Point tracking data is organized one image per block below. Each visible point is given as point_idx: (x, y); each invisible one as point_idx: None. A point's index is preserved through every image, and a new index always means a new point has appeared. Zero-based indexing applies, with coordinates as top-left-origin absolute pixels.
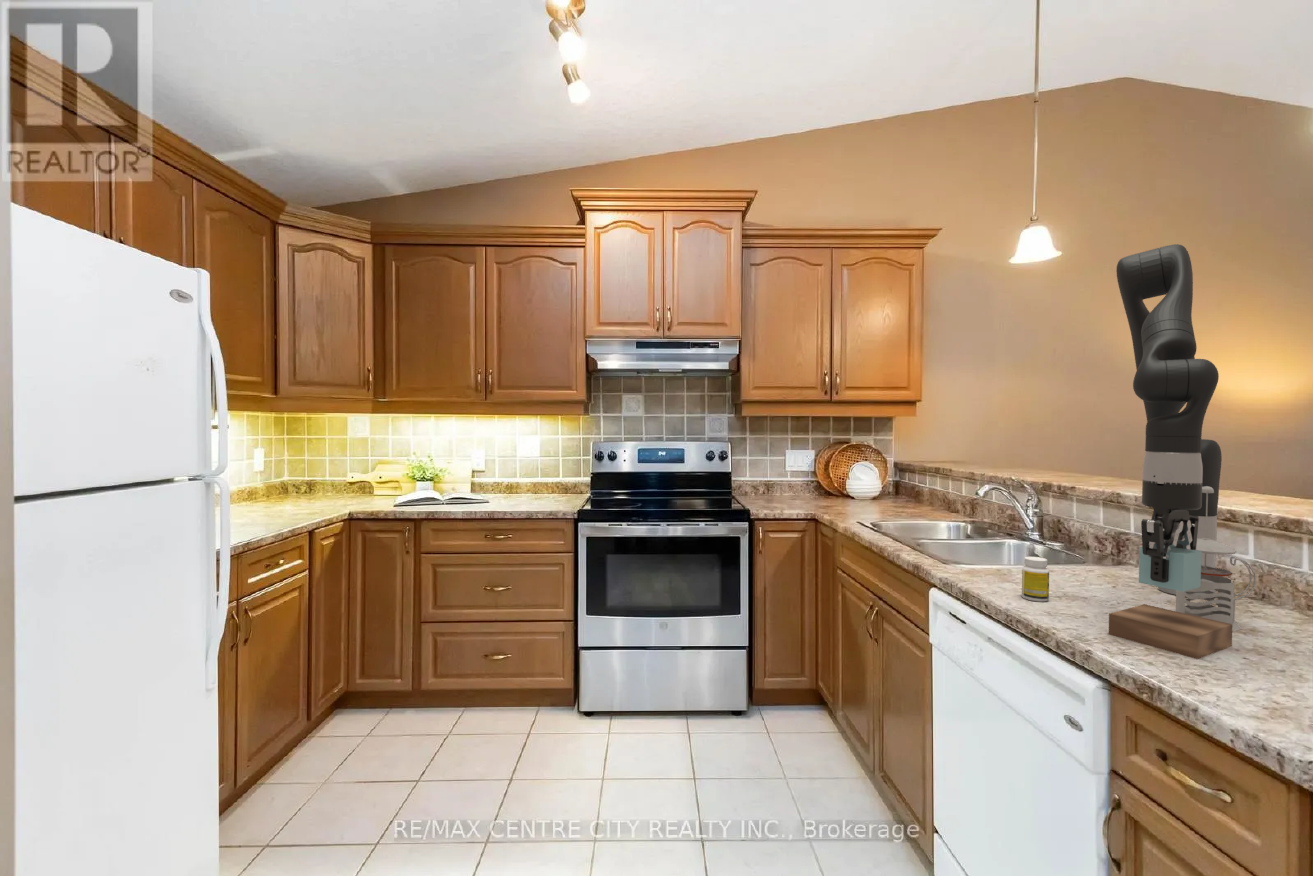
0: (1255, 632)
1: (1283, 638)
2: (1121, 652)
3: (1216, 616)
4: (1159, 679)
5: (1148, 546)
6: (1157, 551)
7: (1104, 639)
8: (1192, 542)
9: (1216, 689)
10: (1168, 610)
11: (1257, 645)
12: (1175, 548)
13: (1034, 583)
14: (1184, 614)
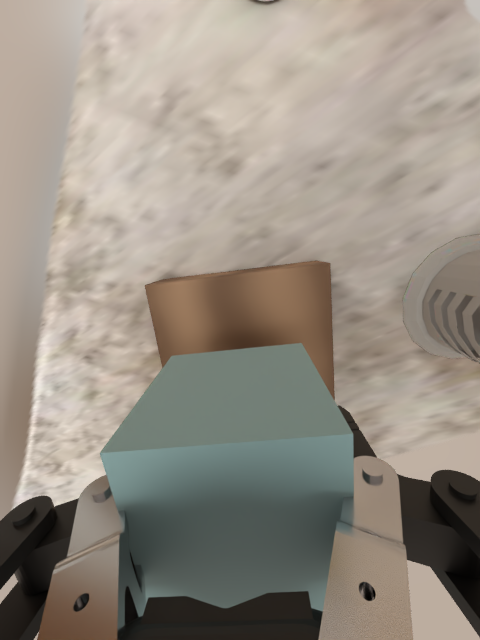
0: (472, 376)
1: (471, 411)
2: (90, 350)
3: (448, 346)
4: (44, 432)
5: (12, 562)
6: (16, 587)
7: (123, 296)
8: (464, 606)
9: (90, 473)
10: (323, 321)
11: (372, 413)
12: (305, 537)
13: None
14: (321, 354)
